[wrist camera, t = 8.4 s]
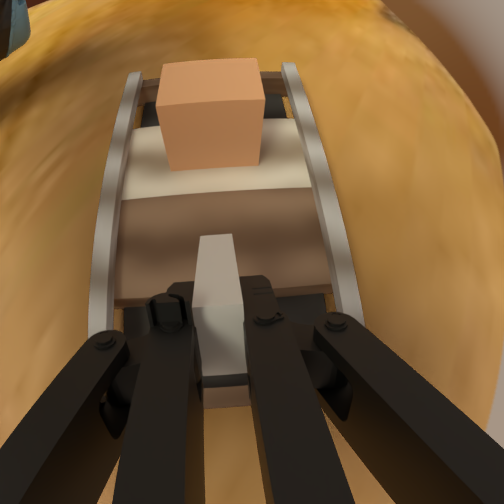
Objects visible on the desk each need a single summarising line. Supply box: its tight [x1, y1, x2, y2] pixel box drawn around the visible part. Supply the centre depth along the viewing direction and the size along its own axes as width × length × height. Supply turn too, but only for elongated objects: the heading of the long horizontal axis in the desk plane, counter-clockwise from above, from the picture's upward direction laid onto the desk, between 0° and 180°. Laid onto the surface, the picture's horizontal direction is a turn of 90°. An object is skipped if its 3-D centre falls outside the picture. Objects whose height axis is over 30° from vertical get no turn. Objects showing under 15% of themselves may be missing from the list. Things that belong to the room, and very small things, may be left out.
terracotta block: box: [156, 58, 265, 172], centre depth 26 cm, size 6×8×8 cm
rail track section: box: [88, 62, 365, 409], centre depth 29 cm, size 36×20×4 cm, turn 6°
